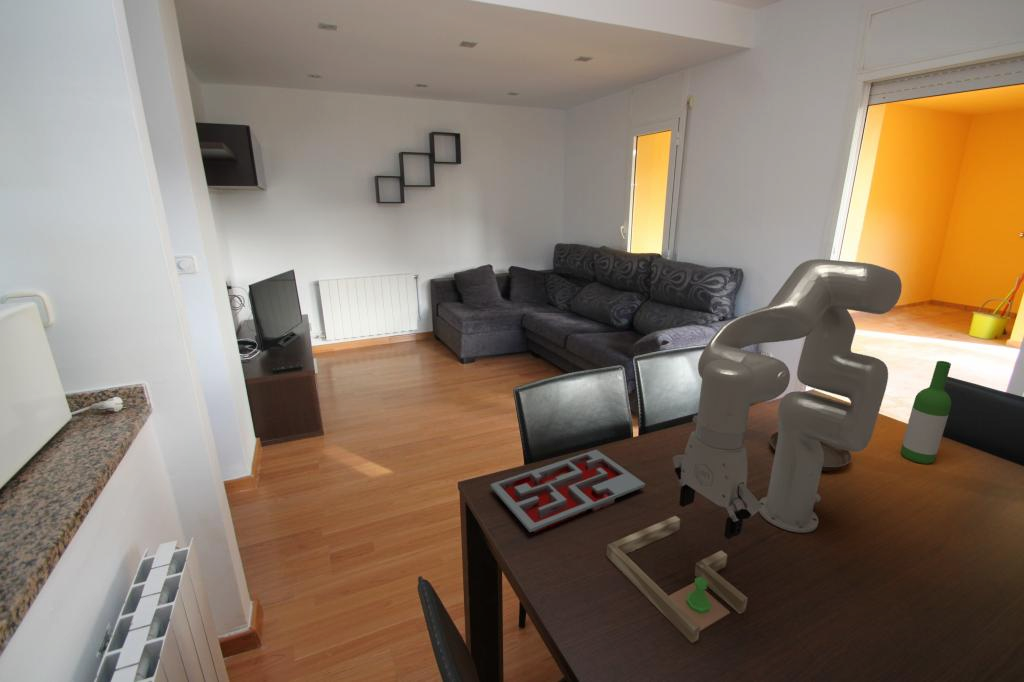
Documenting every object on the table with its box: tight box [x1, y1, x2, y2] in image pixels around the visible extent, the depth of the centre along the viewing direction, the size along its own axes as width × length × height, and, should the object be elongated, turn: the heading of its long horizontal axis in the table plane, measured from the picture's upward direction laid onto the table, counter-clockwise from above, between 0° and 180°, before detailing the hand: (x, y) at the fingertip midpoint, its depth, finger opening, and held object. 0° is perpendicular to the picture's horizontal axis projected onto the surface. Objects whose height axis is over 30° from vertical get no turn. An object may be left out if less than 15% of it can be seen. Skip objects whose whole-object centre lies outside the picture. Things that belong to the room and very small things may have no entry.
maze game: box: [489, 449, 646, 534], centre depth 120 cm, size 35×20×3 cm, turn 119°
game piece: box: [686, 577, 710, 614], centre depth 86 cm, size 4×4×6 cm
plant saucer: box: [768, 431, 853, 472], centre depth 137 cm, size 21×21×3 cm
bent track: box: [606, 515, 749, 644], centre depth 93 cm, size 20×23×3 cm
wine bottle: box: [900, 360, 952, 465], centre depth 131 cm, size 8×8×30 cm
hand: (707, 519), depth 82 cm, fingers open, 9 cm apart
